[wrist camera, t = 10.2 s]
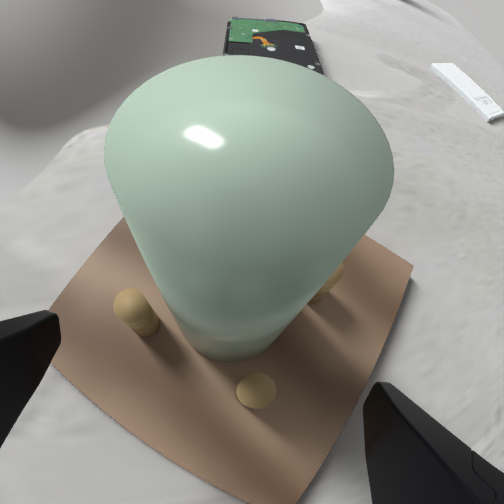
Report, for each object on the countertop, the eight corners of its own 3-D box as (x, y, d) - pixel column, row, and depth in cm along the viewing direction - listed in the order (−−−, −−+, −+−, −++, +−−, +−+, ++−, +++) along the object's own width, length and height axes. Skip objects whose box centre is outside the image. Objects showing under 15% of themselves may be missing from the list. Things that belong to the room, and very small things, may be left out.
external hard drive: (450, 69, 41) (501, 118, 36) (427, 70, 38) (485, 124, 34) (453, 63, 39) (506, 112, 35) (431, 63, 37) (490, 117, 33)
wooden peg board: (280, 512, 14) (299, 542, 9) (37, 342, 16) (-4, 324, 12) (405, 272, 21) (441, 242, 17) (196, 153, 24) (194, 107, 20)
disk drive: (320, 99, 30) (302, 38, 36) (327, 78, 27) (305, 22, 34) (219, 90, 29) (226, 31, 35) (220, 68, 26) (227, 14, 33)
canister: (290, 355, 17) (434, 250, 5) (179, 365, 16) (82, 274, 4) (275, 256, 19) (344, 63, 8) (174, 262, 19) (128, 62, 7)
